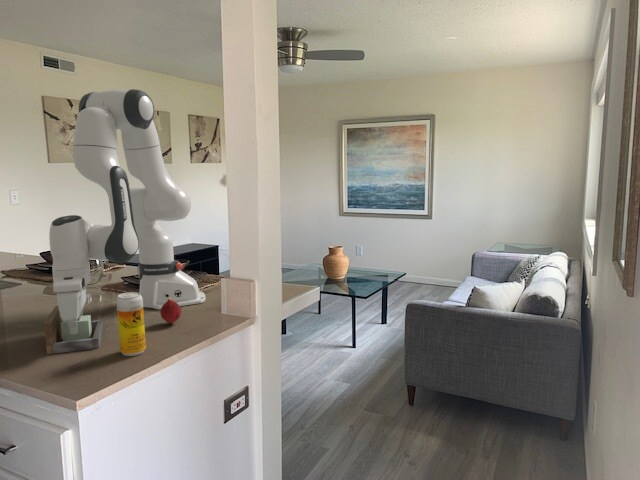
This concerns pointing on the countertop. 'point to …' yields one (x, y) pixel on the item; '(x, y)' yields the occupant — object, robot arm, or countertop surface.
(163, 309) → the onion
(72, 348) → the grey and wood frame
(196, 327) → the countertop surface
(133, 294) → the beer can
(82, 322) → the cabinet block
